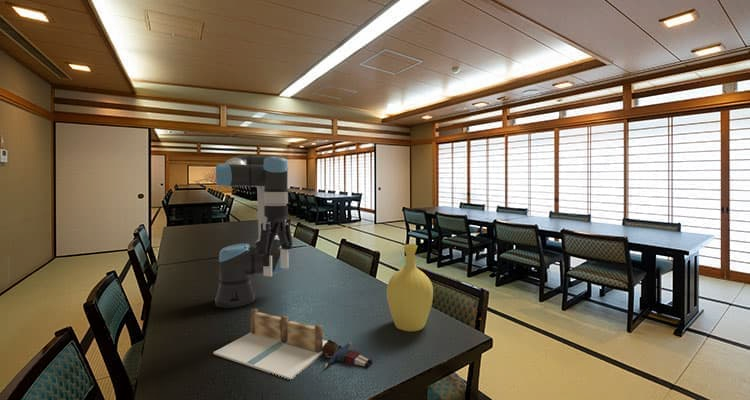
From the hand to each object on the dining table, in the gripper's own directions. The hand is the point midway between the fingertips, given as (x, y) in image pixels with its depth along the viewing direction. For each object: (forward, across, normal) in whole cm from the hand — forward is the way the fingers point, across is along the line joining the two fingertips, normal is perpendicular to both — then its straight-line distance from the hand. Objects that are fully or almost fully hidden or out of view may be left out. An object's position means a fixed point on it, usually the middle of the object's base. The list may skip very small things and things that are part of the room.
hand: (276, 271), depth 109 cm
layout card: (+20, +12, +7) cm, 24 cm away
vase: (+20, -16, +42) cm, 49 cm away
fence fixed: (+19, +9, +15) cm, 26 cm away
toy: (+20, +11, +29) cm, 37 cm away
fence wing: (+18, +7, +2) cm, 20 cm away
